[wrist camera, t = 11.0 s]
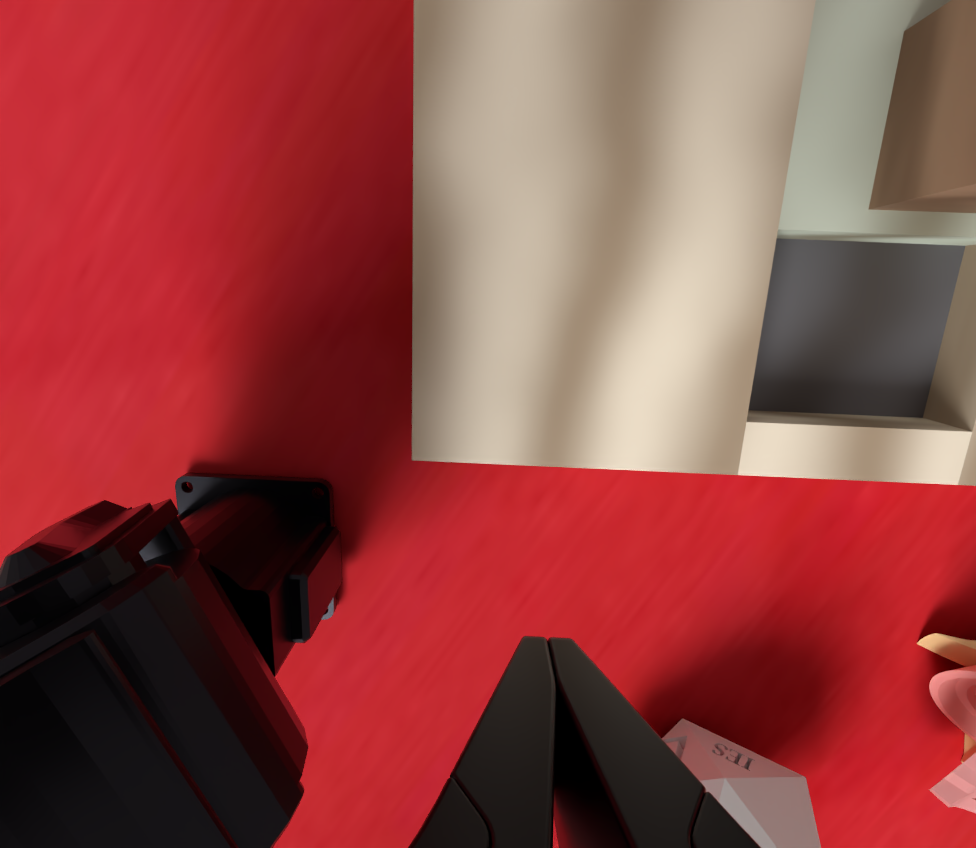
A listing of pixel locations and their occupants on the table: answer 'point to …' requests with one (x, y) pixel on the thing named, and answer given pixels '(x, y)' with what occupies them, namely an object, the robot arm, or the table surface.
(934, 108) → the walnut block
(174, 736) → the robot arm
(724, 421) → the board
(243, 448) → the table surface
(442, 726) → the table surface
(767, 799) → the die
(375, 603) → the table surface
